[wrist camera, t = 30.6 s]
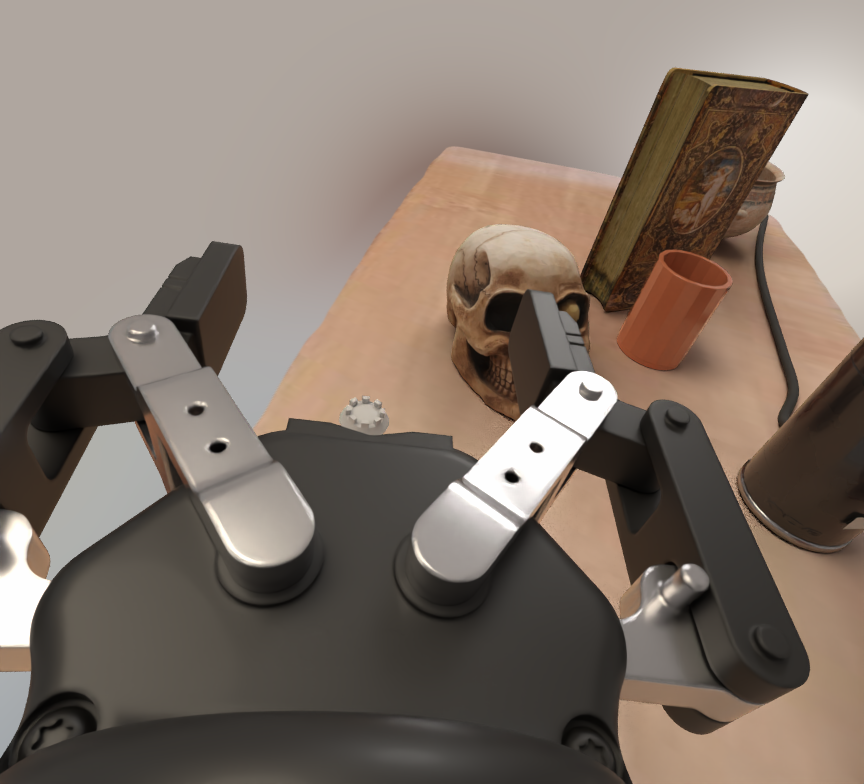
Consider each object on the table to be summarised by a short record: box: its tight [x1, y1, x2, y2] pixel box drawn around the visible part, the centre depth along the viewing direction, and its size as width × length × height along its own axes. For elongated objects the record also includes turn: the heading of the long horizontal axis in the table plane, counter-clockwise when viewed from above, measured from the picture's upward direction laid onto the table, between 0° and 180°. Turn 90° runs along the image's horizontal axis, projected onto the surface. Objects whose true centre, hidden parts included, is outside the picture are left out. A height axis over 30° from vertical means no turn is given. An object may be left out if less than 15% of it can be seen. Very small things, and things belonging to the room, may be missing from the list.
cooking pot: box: [723, 161, 785, 238], centre depth 84 cm, size 25×19×12 cm
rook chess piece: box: [339, 396, 389, 435], centre depth 36 cm, size 4×4×8 cm
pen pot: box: [617, 249, 733, 370], centre depth 56 cm, size 7×7×10 cm
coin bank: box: [447, 224, 590, 421], centre depth 51 cm, size 16×17×13 cm
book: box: [580, 68, 808, 312], centre depth 60 cm, size 16×6×25 cm, turn 116°
